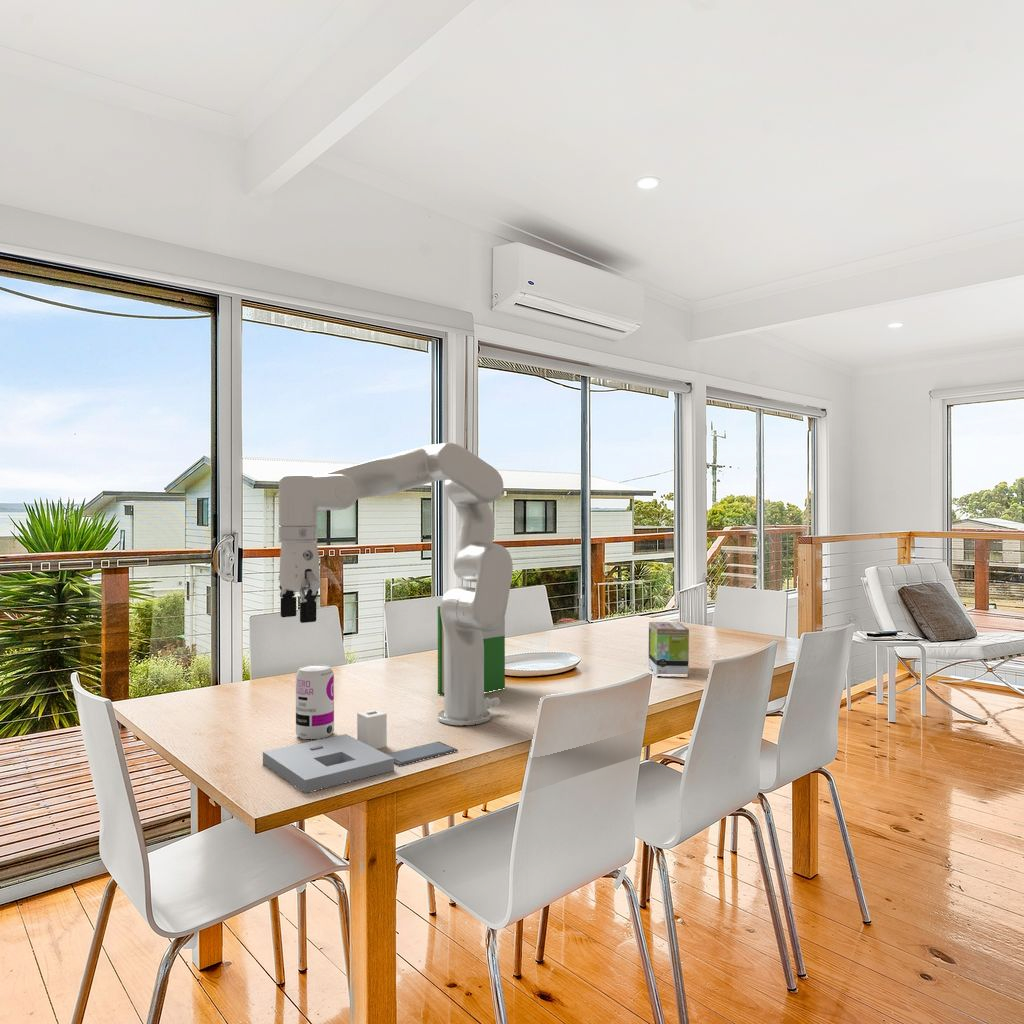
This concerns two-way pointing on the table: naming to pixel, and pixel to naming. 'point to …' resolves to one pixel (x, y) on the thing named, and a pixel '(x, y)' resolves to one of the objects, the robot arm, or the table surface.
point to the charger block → (372, 728)
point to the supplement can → (314, 702)
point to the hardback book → (492, 657)
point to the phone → (420, 753)
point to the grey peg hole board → (327, 762)
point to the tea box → (668, 648)
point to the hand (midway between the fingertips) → (298, 619)
